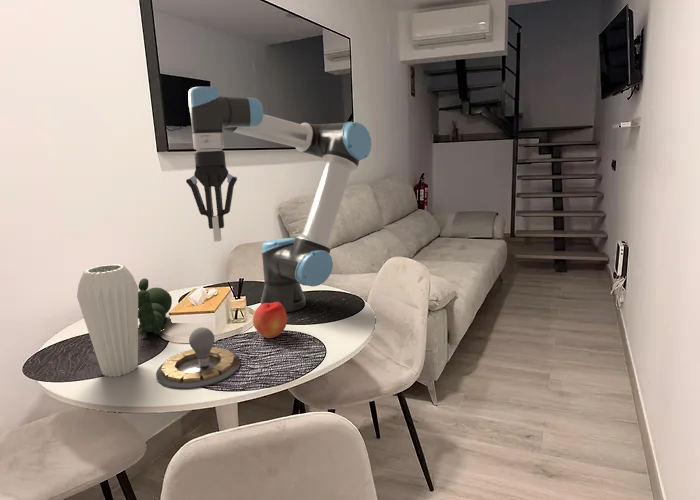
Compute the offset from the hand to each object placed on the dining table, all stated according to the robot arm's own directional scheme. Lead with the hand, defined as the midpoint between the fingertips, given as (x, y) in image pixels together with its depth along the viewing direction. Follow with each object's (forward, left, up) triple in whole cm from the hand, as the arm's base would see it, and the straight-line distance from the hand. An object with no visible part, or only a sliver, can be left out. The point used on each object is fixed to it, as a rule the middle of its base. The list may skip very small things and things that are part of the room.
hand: (217, 240), depth 127 cm
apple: (-2, +12, -30) cm, 32 cm away
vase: (+12, -25, -30) cm, 41 cm away
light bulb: (+15, -4, -29) cm, 33 cm away
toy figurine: (-16, -24, -30) cm, 41 cm away
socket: (+15, -5, -29) cm, 33 cm away
